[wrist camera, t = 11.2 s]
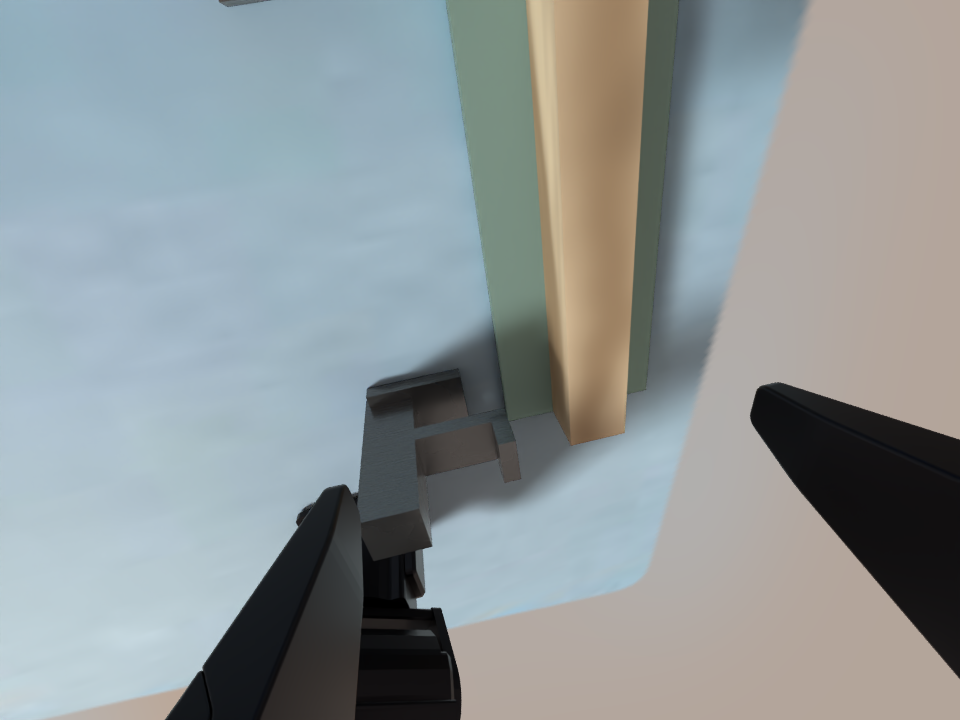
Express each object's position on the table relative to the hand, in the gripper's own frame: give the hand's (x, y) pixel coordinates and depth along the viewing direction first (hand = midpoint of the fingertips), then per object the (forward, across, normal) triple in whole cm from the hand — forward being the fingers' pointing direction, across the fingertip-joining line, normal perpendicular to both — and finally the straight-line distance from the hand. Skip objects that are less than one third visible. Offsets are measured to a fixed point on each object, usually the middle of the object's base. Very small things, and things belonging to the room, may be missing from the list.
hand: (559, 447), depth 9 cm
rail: (+12, -5, -2) cm, 13 cm away
